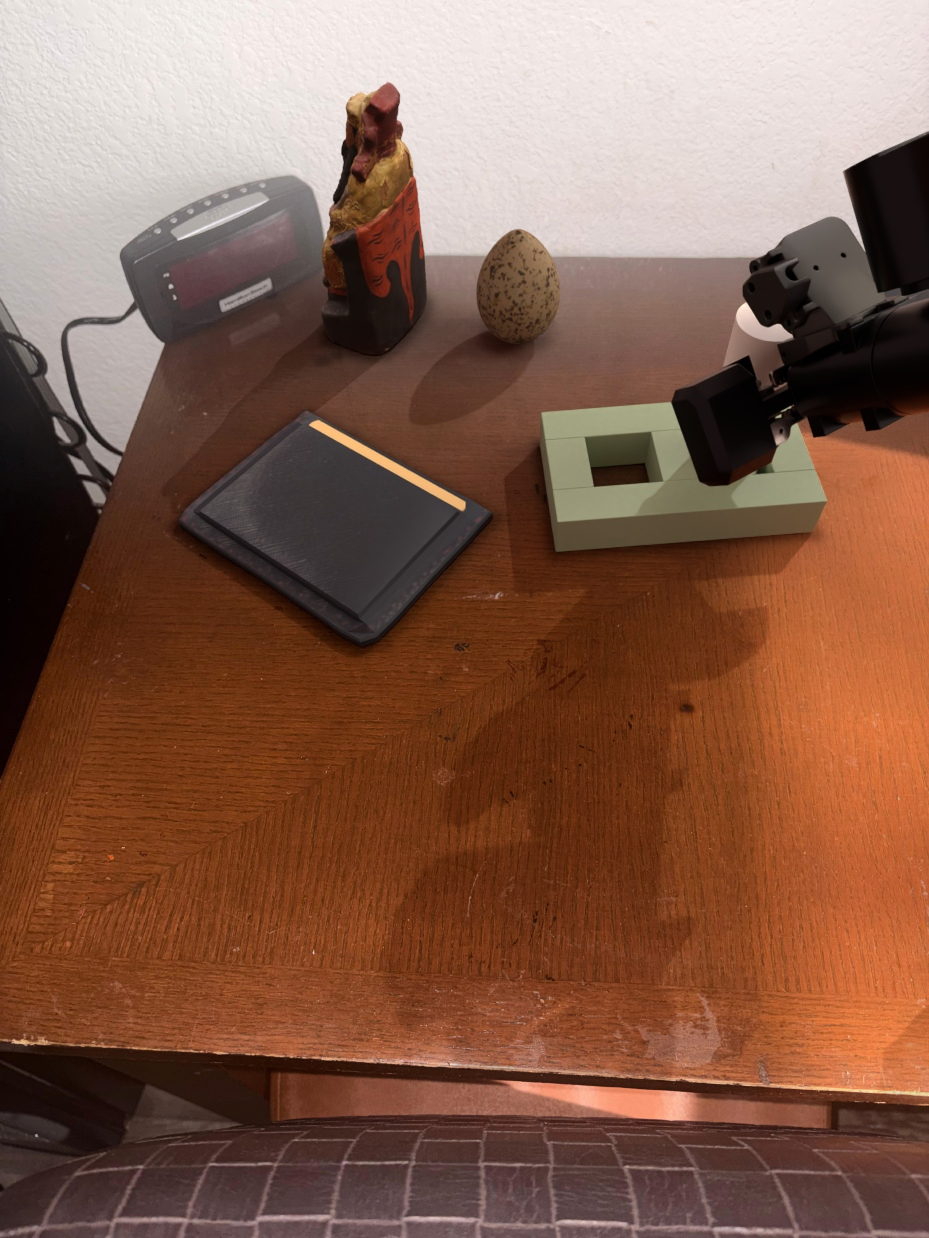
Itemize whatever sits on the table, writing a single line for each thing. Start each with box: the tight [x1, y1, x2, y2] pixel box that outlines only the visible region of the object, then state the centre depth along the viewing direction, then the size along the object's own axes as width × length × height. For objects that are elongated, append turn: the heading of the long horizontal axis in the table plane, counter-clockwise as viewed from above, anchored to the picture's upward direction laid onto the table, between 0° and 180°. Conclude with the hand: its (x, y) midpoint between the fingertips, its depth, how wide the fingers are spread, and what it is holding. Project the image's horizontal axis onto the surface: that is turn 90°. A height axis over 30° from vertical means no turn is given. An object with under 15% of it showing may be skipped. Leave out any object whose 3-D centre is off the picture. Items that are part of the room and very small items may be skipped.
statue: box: [320, 81, 428, 356], centre depth 69 cm, size 12×8×20 cm, turn 149°
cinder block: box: [539, 401, 828, 553], centre depth 64 cm, size 11×19×4 cm, turn 93°
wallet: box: [177, 409, 494, 648], centre depth 64 cm, size 20×2×15 cm
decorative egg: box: [475, 228, 561, 344], centre depth 71 cm, size 7×7×10 cm
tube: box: [722, 301, 793, 475], centre depth 59 cm, size 4×4×15 cm
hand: (731, 397), depth 60 cm, fingers open, 4 cm apart
